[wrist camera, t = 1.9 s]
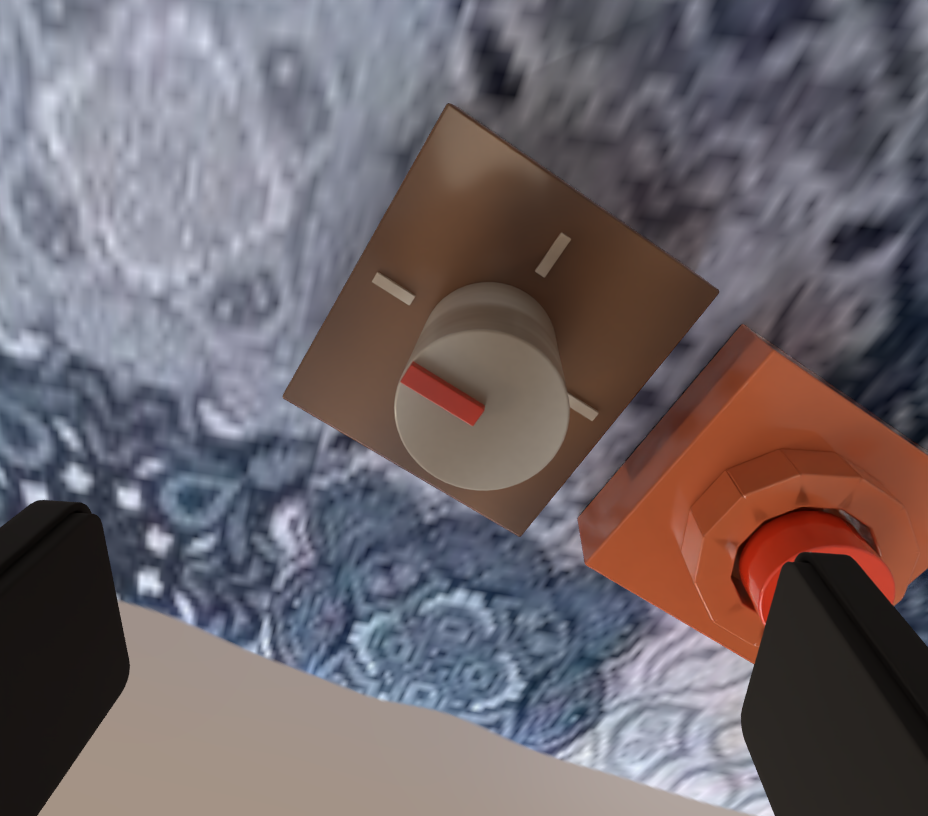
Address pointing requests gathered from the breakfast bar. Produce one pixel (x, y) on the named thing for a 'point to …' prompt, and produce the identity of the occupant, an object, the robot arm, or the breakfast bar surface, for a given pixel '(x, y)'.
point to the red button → (804, 535)
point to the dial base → (509, 262)
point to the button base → (751, 488)
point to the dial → (484, 390)
